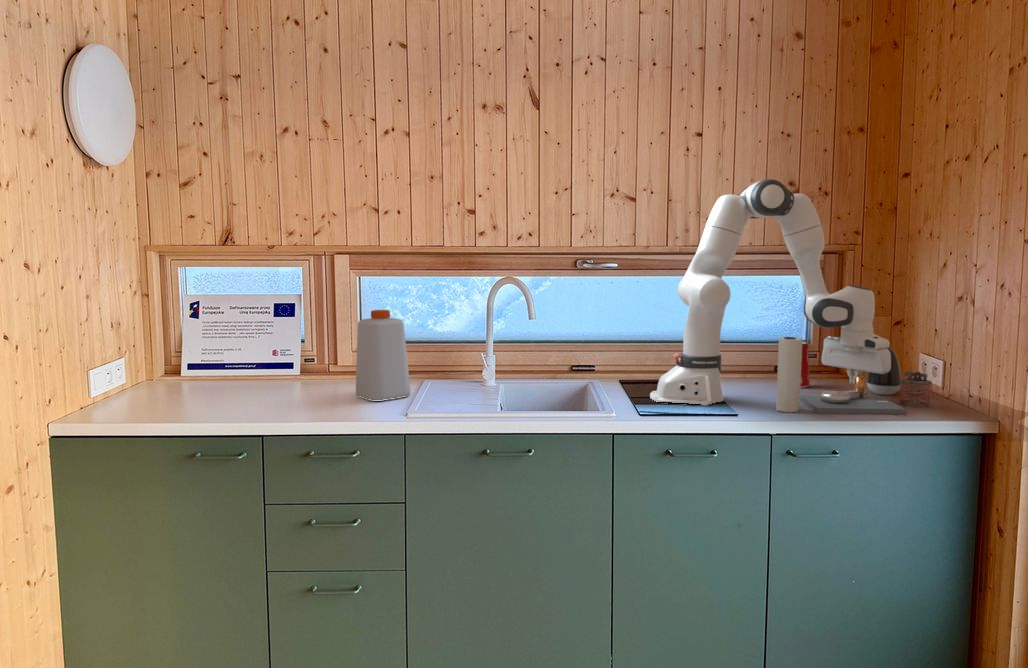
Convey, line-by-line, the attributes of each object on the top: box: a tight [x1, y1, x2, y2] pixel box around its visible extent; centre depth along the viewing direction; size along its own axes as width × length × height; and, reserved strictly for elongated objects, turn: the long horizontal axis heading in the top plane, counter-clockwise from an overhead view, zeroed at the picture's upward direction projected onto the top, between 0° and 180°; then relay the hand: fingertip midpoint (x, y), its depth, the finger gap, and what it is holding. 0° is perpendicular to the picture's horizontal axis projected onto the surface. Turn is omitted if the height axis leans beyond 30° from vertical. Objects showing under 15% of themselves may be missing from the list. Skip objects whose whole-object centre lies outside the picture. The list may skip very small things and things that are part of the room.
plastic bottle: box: [355, 309, 412, 400], centre depth 231 cm, size 15×15×28 cm
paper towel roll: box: [775, 336, 804, 413], centre depth 207 cm, size 7×6×21 cm
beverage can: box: [800, 341, 810, 389], centre depth 240 cm, size 6×6×15 cm
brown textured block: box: [898, 370, 933, 408], centre depth 213 cm, size 8×3×10 cm, turn 59°
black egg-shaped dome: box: [865, 346, 902, 396], centre depth 228 cm, size 10×10×15 cm
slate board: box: [800, 393, 906, 415], centre depth 213 cm, size 24×18×2 cm
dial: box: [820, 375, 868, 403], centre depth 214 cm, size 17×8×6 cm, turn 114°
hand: (853, 383), depth 219 cm, fingers closed
